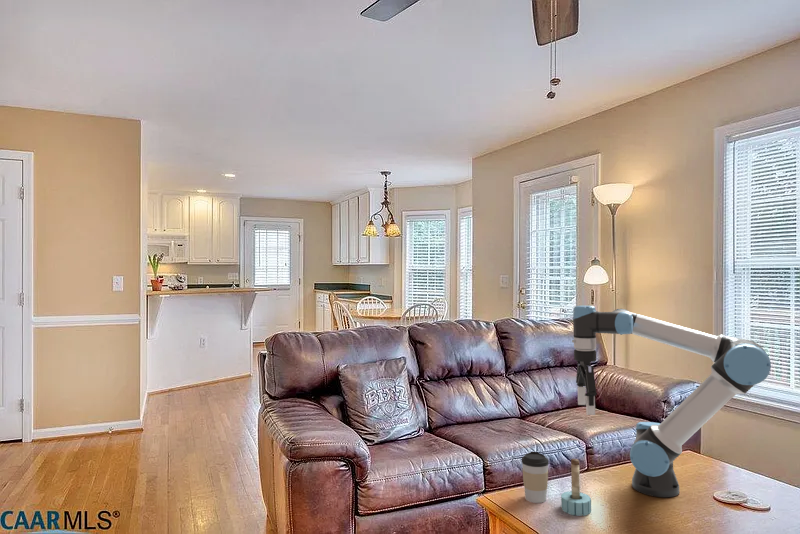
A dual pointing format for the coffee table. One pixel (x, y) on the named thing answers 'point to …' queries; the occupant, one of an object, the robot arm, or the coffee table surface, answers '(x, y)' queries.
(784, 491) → the coffee table surface
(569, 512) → the bead
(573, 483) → the tan cylindrical rod
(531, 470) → the coffee cup
